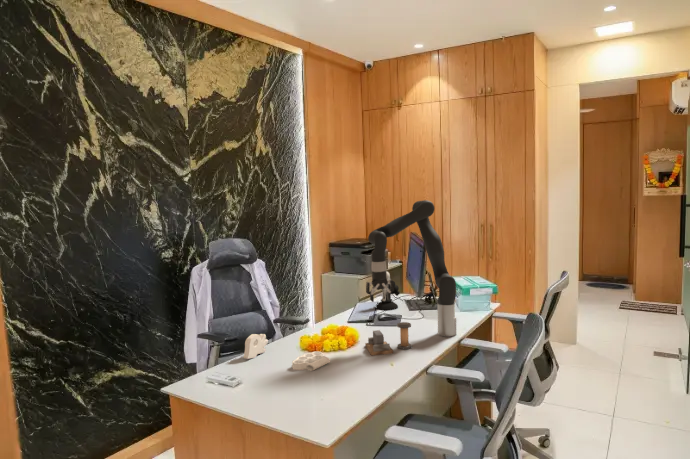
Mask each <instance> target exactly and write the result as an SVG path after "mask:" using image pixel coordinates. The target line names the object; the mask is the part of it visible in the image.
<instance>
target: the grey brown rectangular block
mask: <svg viewBox="0 0 690 459" xmlns="http://www.w3.org/2000/svg"><path fill="white" fill-rule="evenodd" d="M372 337H373V344H374V345H378V344H384V341H385V338H384V339H383V337H384V334H383V333H382V332H381V329H378V330H372Z"/></svg>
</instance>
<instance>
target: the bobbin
mask: <svg viewBox="0 0 690 459" xmlns="http://www.w3.org/2000/svg"><path fill="white" fill-rule="evenodd" d="M396 326H397V328H399V331H400V332H399V333H400V334H399V336H400V337H399V339H400V343H398V344H397V349H399V350H402V351H403V350H410V349H412V346H413V345H412V344H411V343H409V342H410V341H409V328H411V327H412V323H411V322H407V321H401V322H397V324H396Z"/></svg>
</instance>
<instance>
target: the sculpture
mask: <svg viewBox="0 0 690 459" xmlns="http://www.w3.org/2000/svg"><path fill="white" fill-rule="evenodd" d="M386 273H387V280H390V279H391V275H390V274H391V273H390V272H389V271H387V270H386ZM386 286H387V288H388V289H390V284H389V283H387V285H386ZM393 286H394V291H392V292H391V295H395V296H396V297H398V296H399V295H401V291H399V286H398V285H397V284H396V282H395V281H394V280H393ZM381 292H382V298H381V299H380V301H379V302H378V303H377V304H378V305H377V304H376V305H377V308H375V309H376V310H379V311H393V310H394V311H395V310H397V309H398V308H399V306H398V304H397V303H396V302H395V301H393V299H392V298H391V299H390V300H387V291H386V290H385V288H384V289H381Z"/></svg>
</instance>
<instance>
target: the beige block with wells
mask: <svg viewBox="0 0 690 459" xmlns="http://www.w3.org/2000/svg"><path fill="white" fill-rule="evenodd" d="M329 363H331V359H330V358H329V357H327V356H325V355H324V353H323V352H322V351H318V350H317V351H312V352H309V353H303V355H299V356H297V357H296V359H294V360H292V362H291V364H292V365H291V366H292V369H293V370H295V371H303V370H308V371H310V372H312V371H314V370H317V369H319V368H322V367H323V366H324V365H326V364H329Z"/></svg>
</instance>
